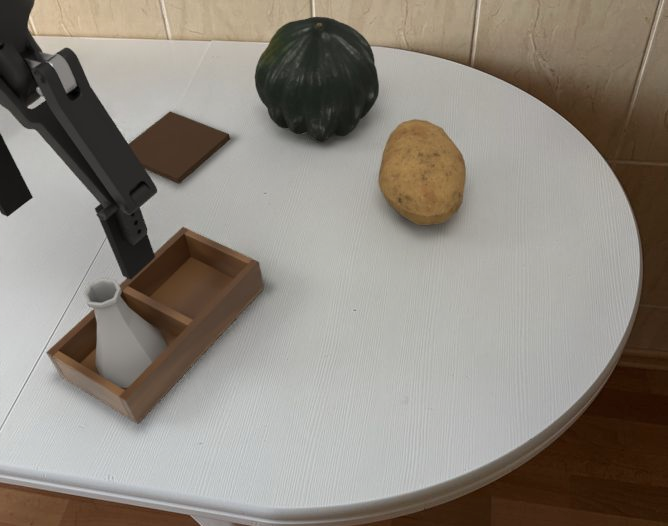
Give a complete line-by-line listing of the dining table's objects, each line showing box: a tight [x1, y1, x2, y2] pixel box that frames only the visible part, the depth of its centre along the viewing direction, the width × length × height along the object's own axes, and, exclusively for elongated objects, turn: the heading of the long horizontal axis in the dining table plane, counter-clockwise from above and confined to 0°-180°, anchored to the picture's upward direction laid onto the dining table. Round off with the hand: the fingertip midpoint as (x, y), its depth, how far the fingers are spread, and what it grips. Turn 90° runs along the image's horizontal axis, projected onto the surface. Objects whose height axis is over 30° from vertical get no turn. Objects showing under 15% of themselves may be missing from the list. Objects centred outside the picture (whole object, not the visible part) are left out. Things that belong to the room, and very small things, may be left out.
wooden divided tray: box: [46, 226, 265, 425], centre depth 69 cm, size 10×19×4 cm, turn 147°
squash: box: [254, 16, 380, 143], centre depth 86 cm, size 14×15×15 cm
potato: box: [377, 118, 467, 226], centre depth 77 cm, size 10×14×8 cm
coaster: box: [128, 110, 231, 184], centre depth 88 cm, size 10×10×1 cm
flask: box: [82, 277, 168, 388], centre depth 64 cm, size 7×7×10 cm
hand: (75, 235), depth 55 cm, fingers open, 13 cm apart
